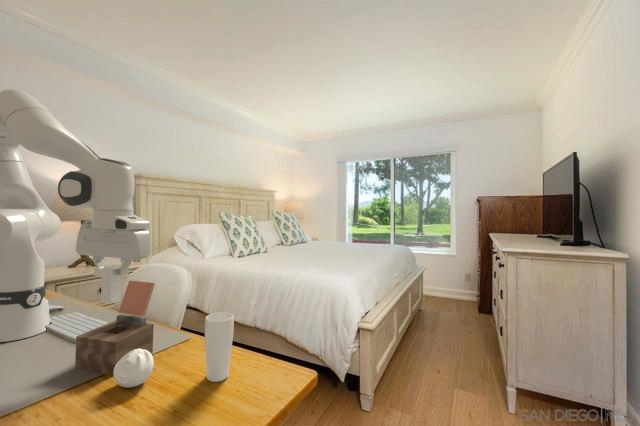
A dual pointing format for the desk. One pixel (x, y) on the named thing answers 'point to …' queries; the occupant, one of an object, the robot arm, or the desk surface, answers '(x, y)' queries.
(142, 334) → the block
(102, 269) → the steel peg
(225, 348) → the drinking glass
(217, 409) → the desk surface
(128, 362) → the white ridged ball
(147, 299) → the panel
